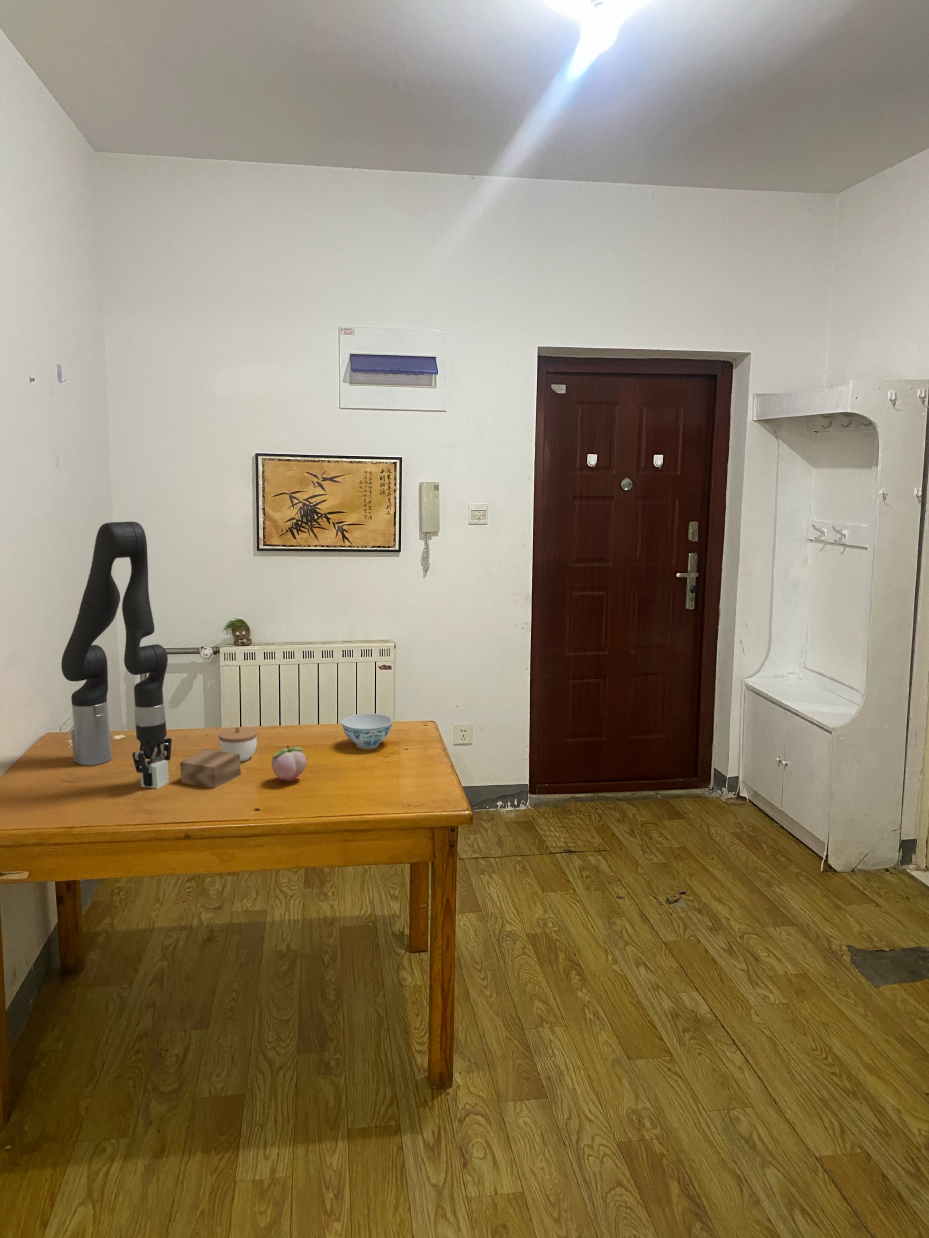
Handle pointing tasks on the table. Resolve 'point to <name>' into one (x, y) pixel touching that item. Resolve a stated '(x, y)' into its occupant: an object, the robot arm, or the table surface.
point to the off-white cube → (158, 774)
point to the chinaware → (367, 729)
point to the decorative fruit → (289, 763)
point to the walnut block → (210, 768)
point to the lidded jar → (239, 741)
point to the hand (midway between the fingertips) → (154, 781)
